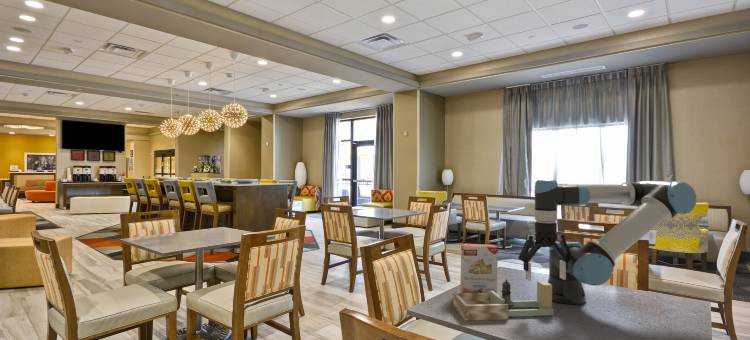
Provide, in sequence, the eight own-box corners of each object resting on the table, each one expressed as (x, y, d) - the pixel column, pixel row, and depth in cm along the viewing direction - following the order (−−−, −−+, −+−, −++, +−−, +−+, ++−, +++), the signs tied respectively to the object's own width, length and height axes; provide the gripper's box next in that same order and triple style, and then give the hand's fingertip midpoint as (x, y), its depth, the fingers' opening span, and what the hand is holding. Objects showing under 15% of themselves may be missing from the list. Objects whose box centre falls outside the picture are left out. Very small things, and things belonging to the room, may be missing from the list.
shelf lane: (492, 305, 150) (492, 292, 150) (508, 319, 137) (508, 304, 137) (453, 306, 149) (453, 293, 149) (465, 320, 135) (465, 306, 135)
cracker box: (462, 297, 160) (463, 246, 160) (460, 292, 166) (460, 243, 166) (497, 298, 159) (498, 246, 159) (493, 293, 165) (494, 243, 165)
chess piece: (497, 313, 142) (498, 280, 142) (497, 308, 148) (497, 276, 148) (514, 315, 140) (515, 282, 140) (513, 310, 146) (514, 277, 146)
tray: (540, 305, 151) (541, 279, 150) (555, 315, 141) (555, 287, 141) (489, 306, 148) (490, 280, 148) (501, 316, 138) (501, 288, 138)
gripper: (571, 219, 150) (571, 275, 150) (509, 220, 148) (508, 277, 148) (583, 222, 143) (583, 280, 143) (518, 223, 140) (518, 283, 140)
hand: (545, 279), depth 145 cm, fingers open, 13 cm apart
